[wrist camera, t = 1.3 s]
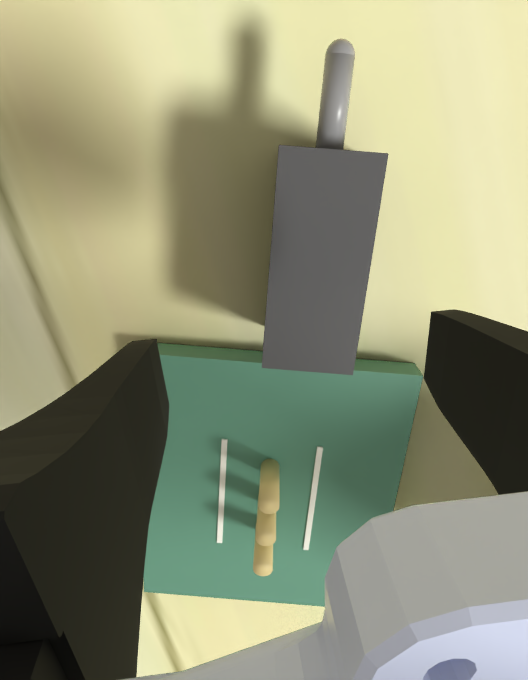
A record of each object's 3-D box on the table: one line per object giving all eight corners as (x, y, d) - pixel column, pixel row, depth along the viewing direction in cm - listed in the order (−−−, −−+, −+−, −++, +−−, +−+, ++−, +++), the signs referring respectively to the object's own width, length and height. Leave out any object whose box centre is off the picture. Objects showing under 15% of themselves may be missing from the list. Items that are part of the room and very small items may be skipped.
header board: (414, 363, 23) (444, 406, 19) (366, 588, 29) (381, 660, 25) (145, 341, 23) (115, 380, 19) (150, 571, 29) (128, 639, 25)
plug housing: (375, 64, 19) (408, 31, 14) (338, 332, 23) (352, 375, 18) (286, 57, 19) (288, 22, 14) (265, 326, 23) (261, 367, 18)
